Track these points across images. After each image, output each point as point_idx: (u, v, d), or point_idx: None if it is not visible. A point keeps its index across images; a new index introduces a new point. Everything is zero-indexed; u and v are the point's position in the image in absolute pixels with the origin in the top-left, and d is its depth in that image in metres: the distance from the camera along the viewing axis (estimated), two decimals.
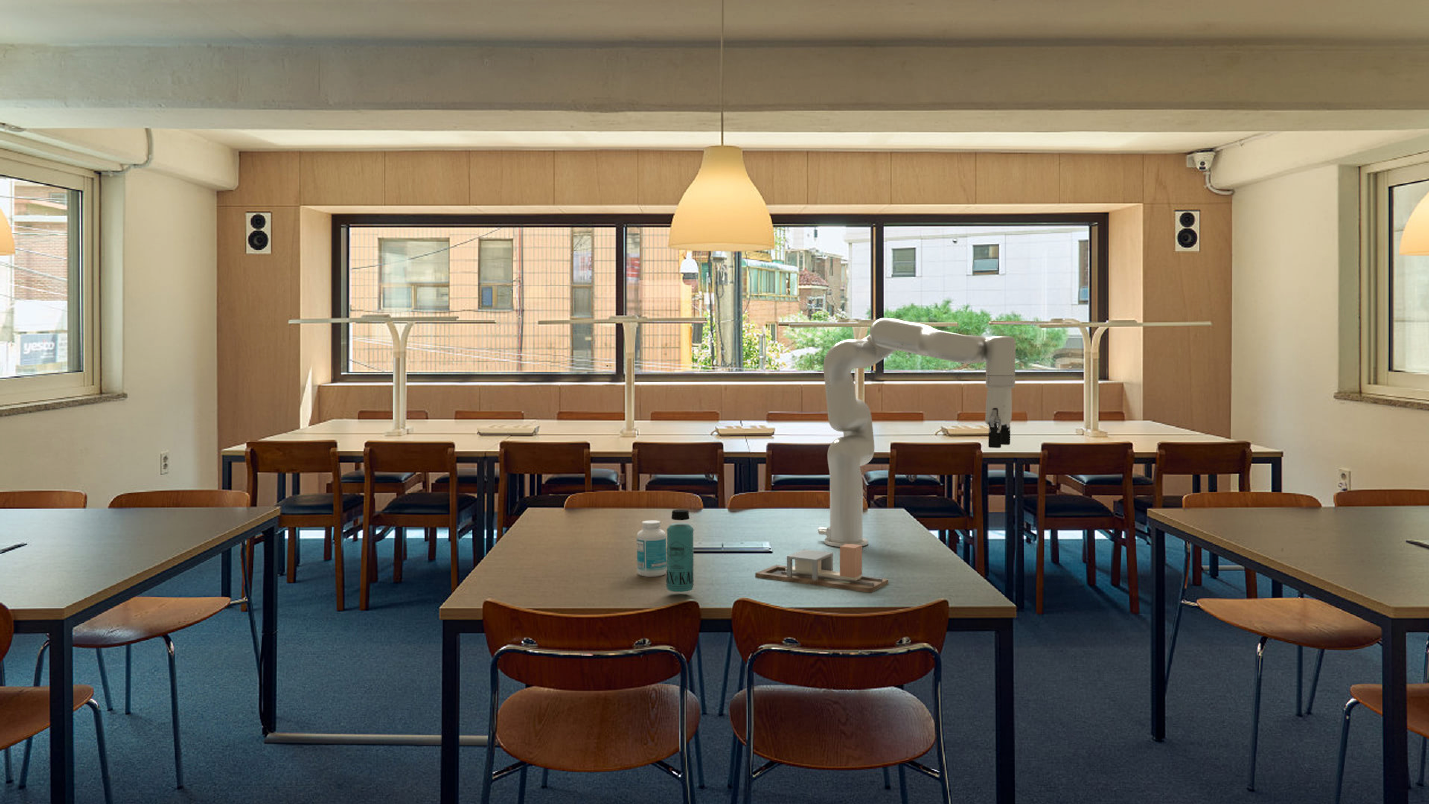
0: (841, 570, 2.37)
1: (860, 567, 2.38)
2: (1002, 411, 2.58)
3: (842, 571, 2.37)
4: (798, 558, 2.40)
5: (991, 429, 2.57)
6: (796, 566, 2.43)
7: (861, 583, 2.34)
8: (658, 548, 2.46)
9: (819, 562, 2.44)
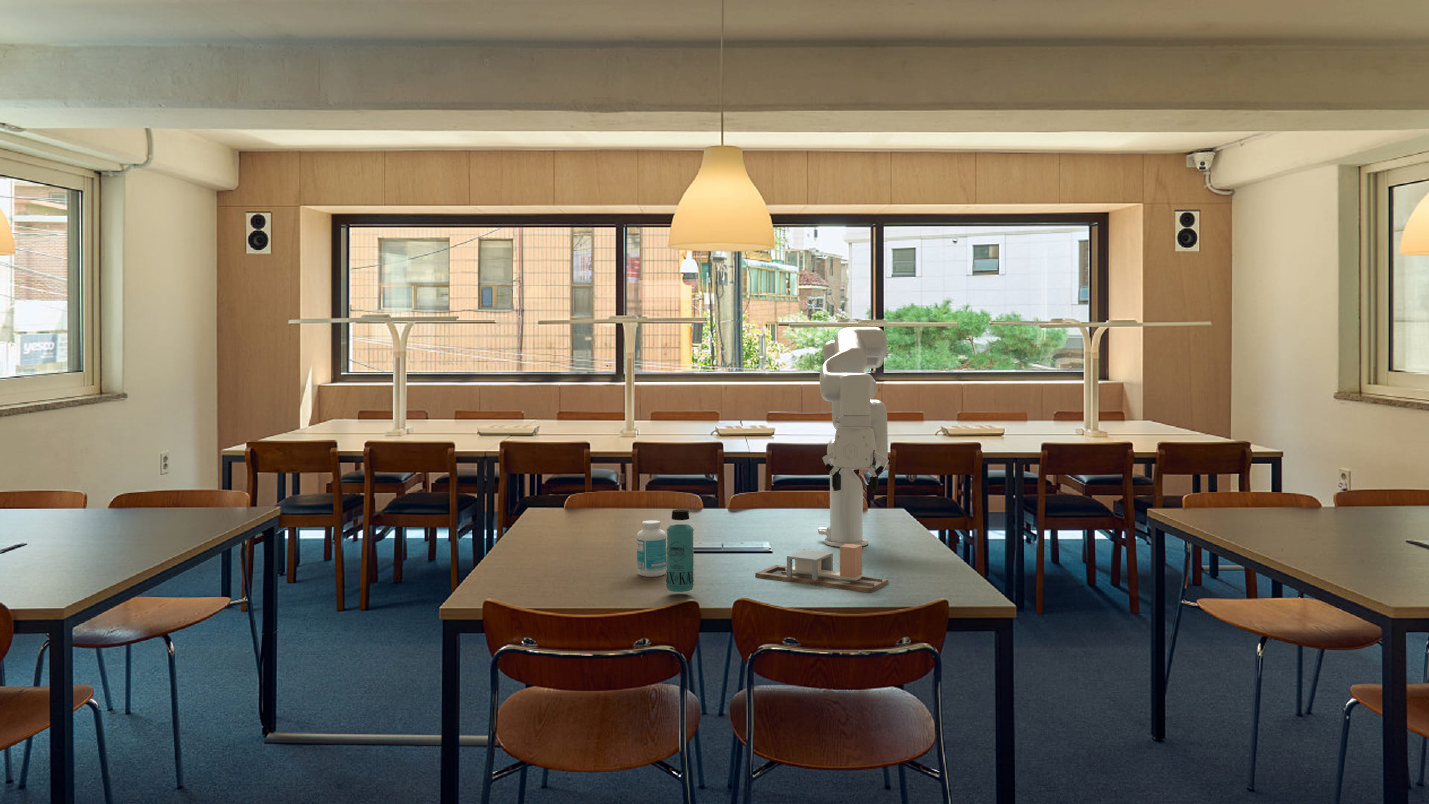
0: (841, 570, 2.37)
1: (860, 567, 2.38)
2: None
3: (842, 571, 2.37)
4: (798, 558, 2.40)
5: (879, 473, 2.40)
6: (796, 566, 2.43)
7: (861, 583, 2.34)
8: (658, 548, 2.46)
9: (819, 562, 2.44)
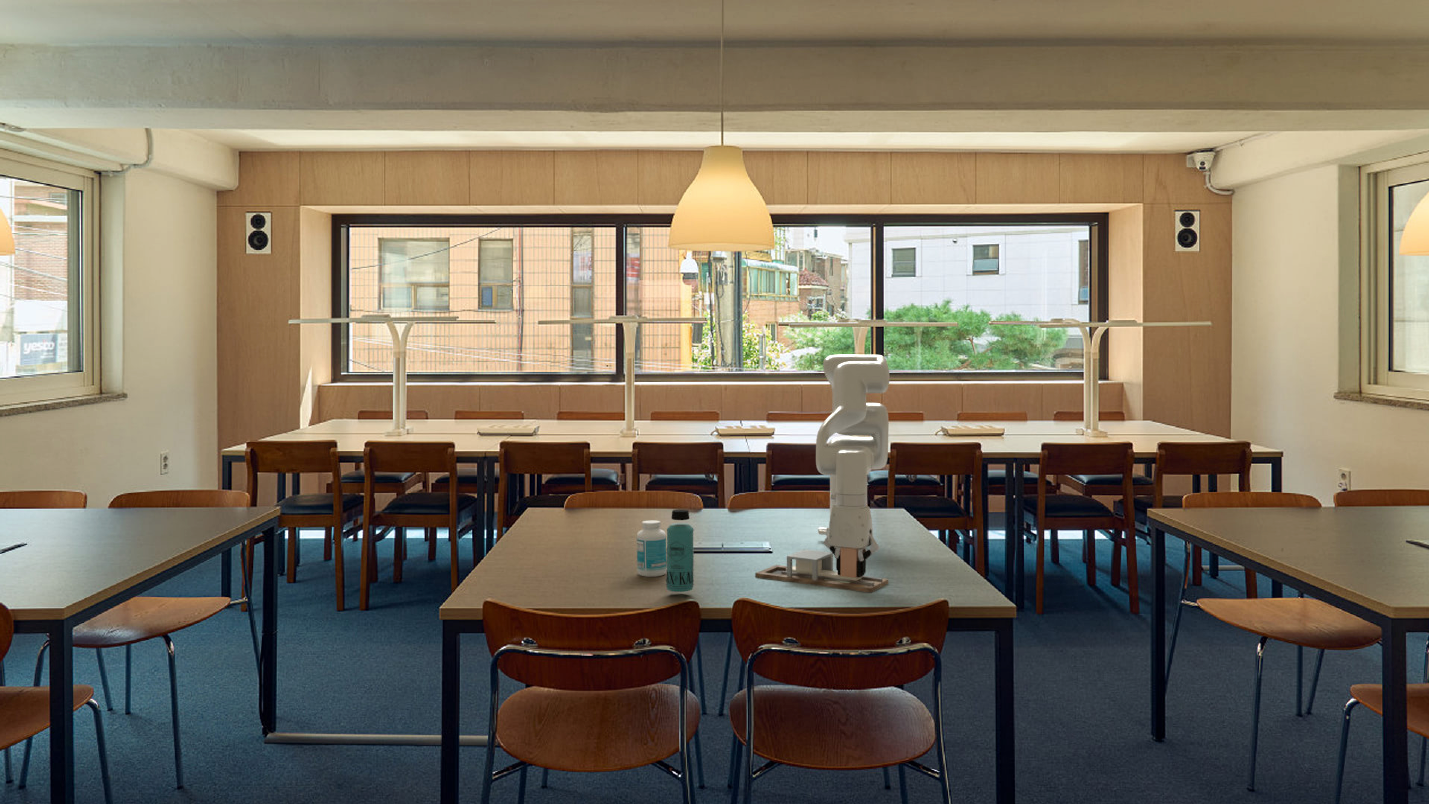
0: (842, 570, 2.37)
1: None
2: None
3: (843, 571, 2.37)
4: (798, 558, 2.40)
5: (867, 557, 2.35)
6: (797, 566, 2.43)
7: (861, 583, 2.34)
8: (658, 548, 2.46)
9: (820, 562, 2.44)
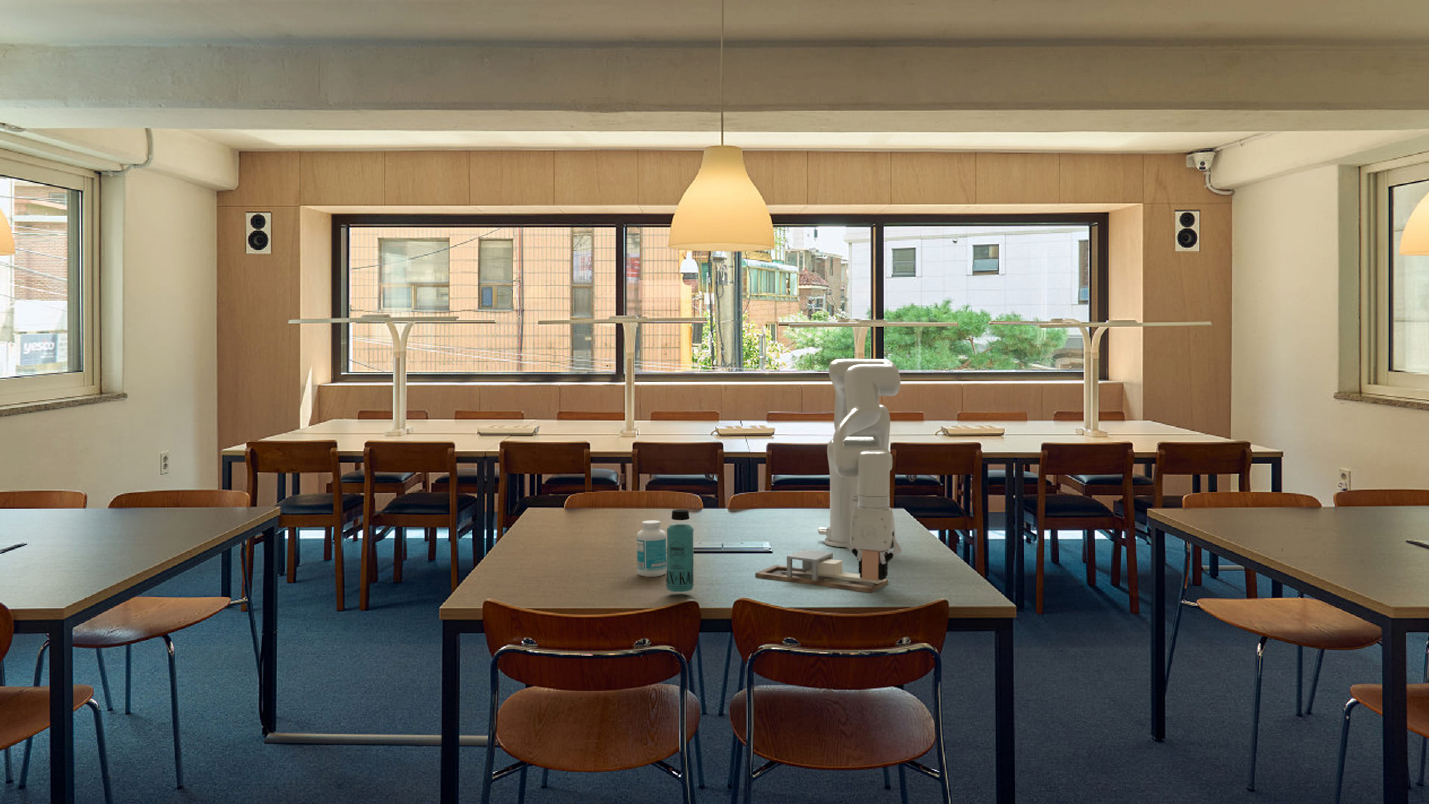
0: (863, 573, 2.34)
1: None
2: None
3: (864, 574, 2.34)
4: (798, 558, 2.40)
5: (889, 559, 2.32)
6: None
7: (861, 583, 2.34)
8: (658, 548, 2.46)
9: (840, 565, 2.41)
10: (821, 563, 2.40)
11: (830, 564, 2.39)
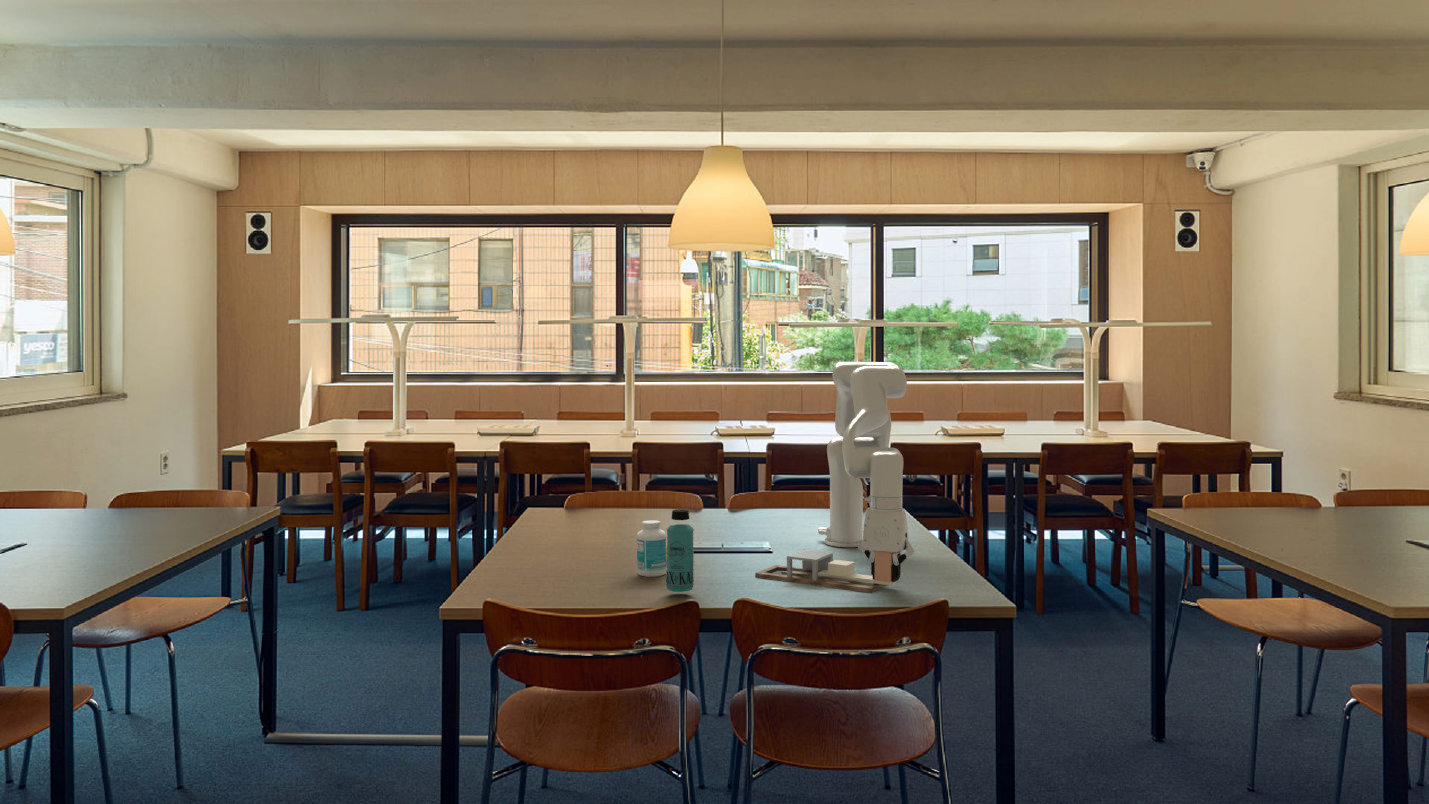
0: (876, 574, 2.33)
1: None
2: None
3: (877, 575, 2.33)
4: (798, 558, 2.40)
5: (902, 561, 2.31)
6: (829, 570, 2.39)
7: (861, 583, 2.34)
8: (658, 548, 2.46)
9: (852, 566, 2.39)
10: (833, 564, 2.38)
11: (842, 565, 2.37)
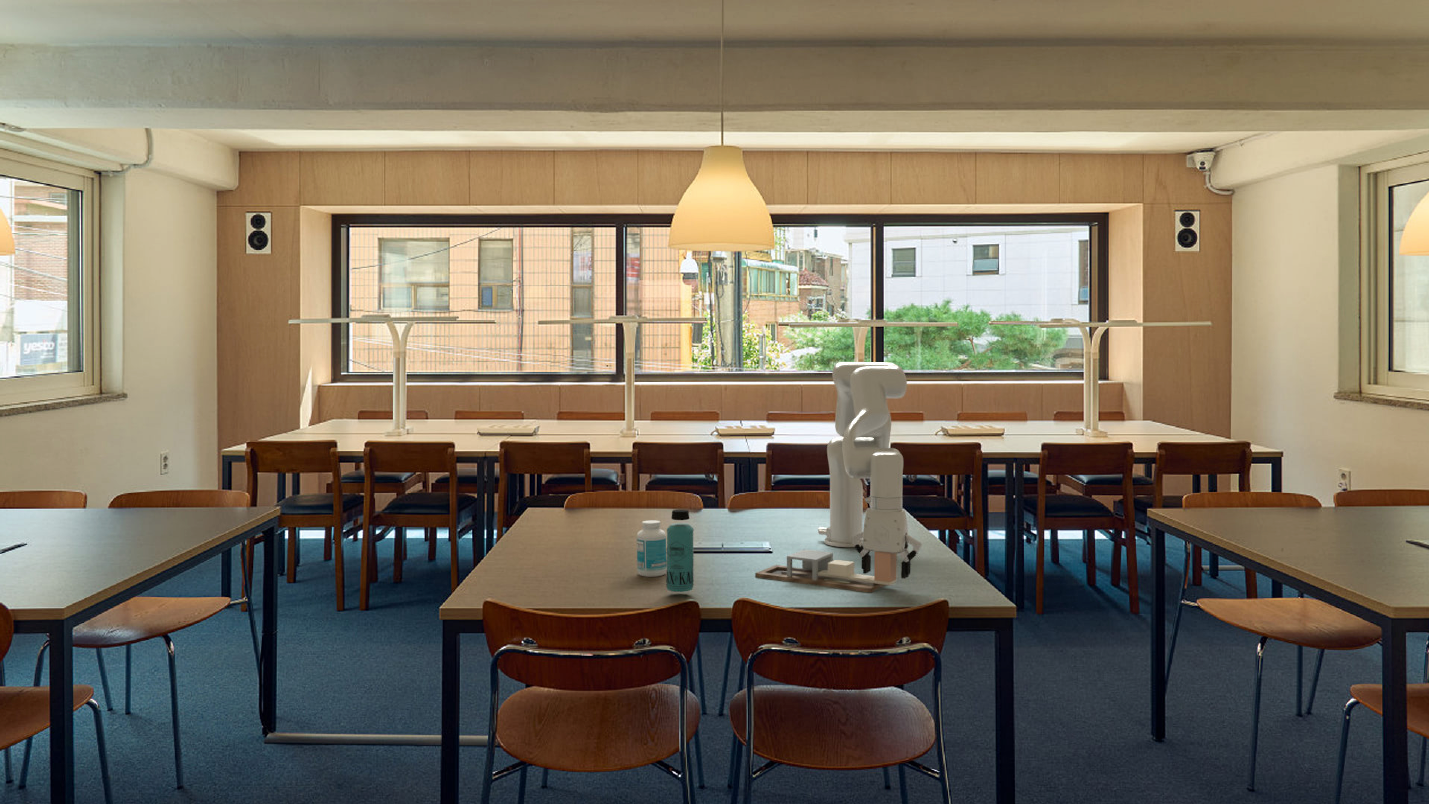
0: (876, 574, 2.33)
1: (895, 571, 2.34)
2: None
3: (877, 575, 2.33)
4: (798, 558, 2.40)
5: (912, 557, 2.29)
6: (829, 570, 2.39)
7: (861, 583, 2.34)
8: (658, 548, 2.46)
9: (852, 566, 2.39)
10: (833, 564, 2.38)
11: (842, 565, 2.37)
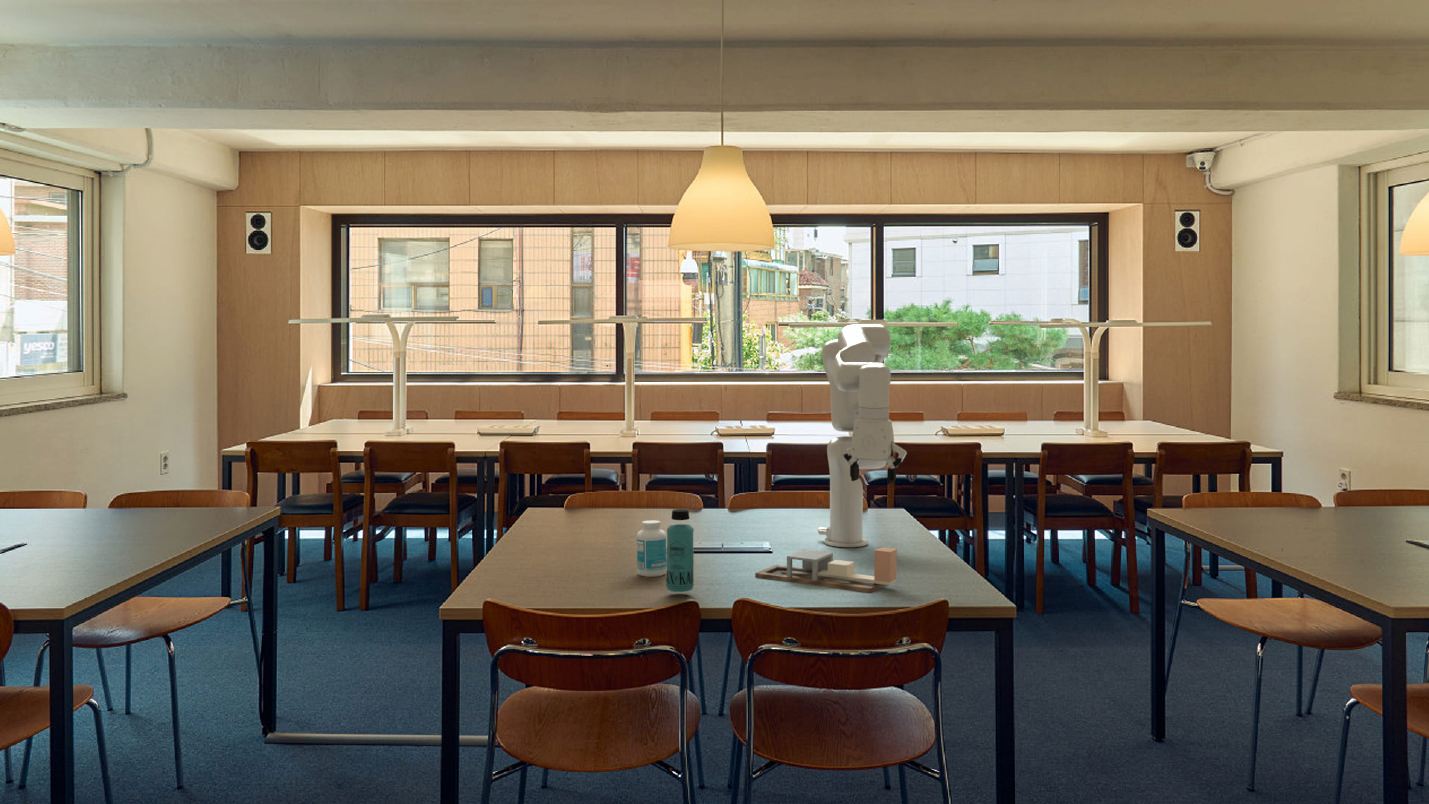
0: (876, 574, 2.33)
1: (895, 571, 2.34)
2: None
3: (877, 575, 2.33)
4: (798, 558, 2.40)
5: (897, 464, 2.42)
6: (829, 570, 2.39)
7: (861, 583, 2.34)
8: (658, 548, 2.46)
9: (852, 566, 2.39)
10: (833, 564, 2.38)
11: (842, 565, 2.37)
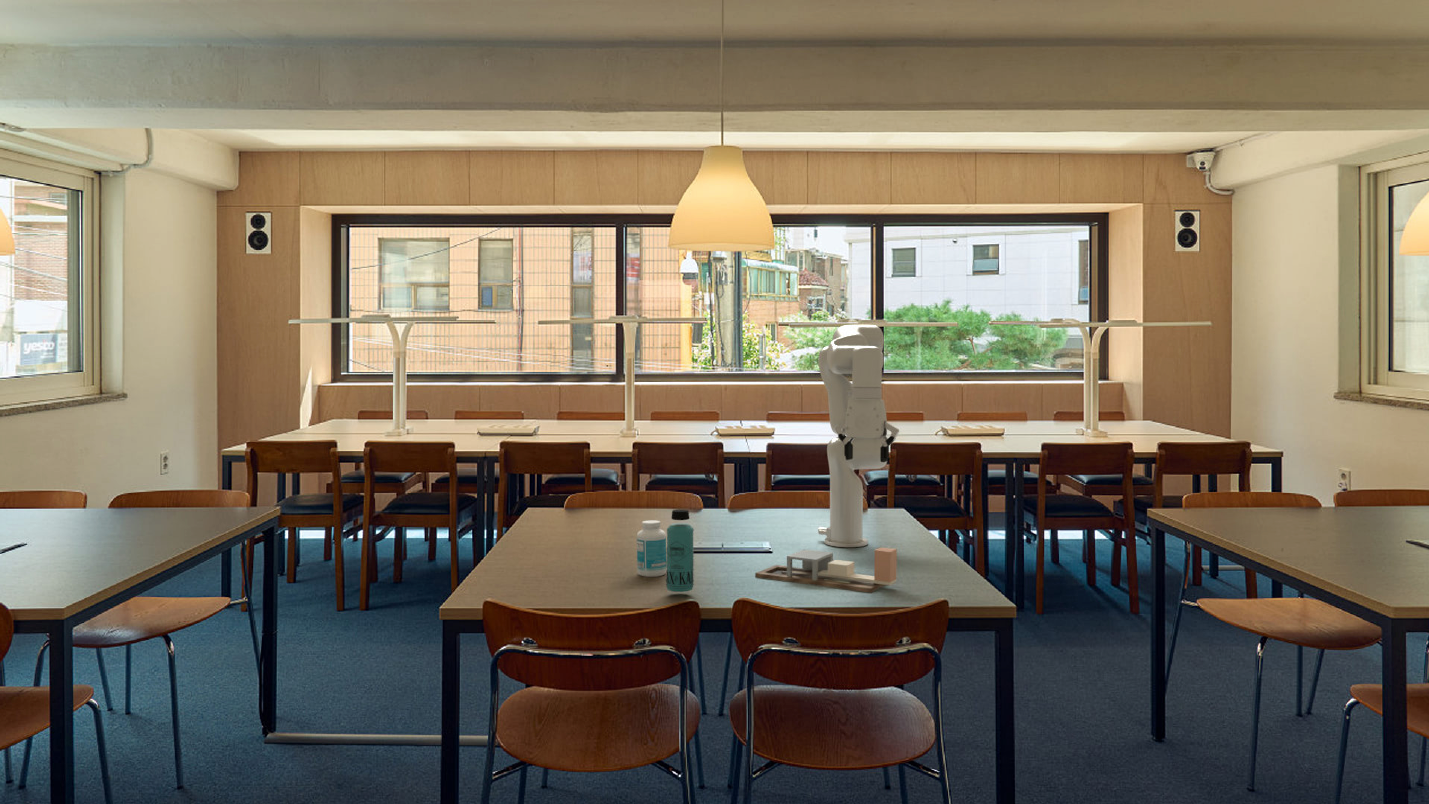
0: (876, 574, 2.33)
1: (895, 571, 2.34)
2: None
3: (877, 575, 2.33)
4: (798, 558, 2.40)
5: (890, 442, 2.50)
6: (829, 570, 2.39)
7: (861, 583, 2.34)
8: (658, 548, 2.46)
9: (852, 566, 2.39)
10: (833, 564, 2.38)
11: (842, 565, 2.37)
